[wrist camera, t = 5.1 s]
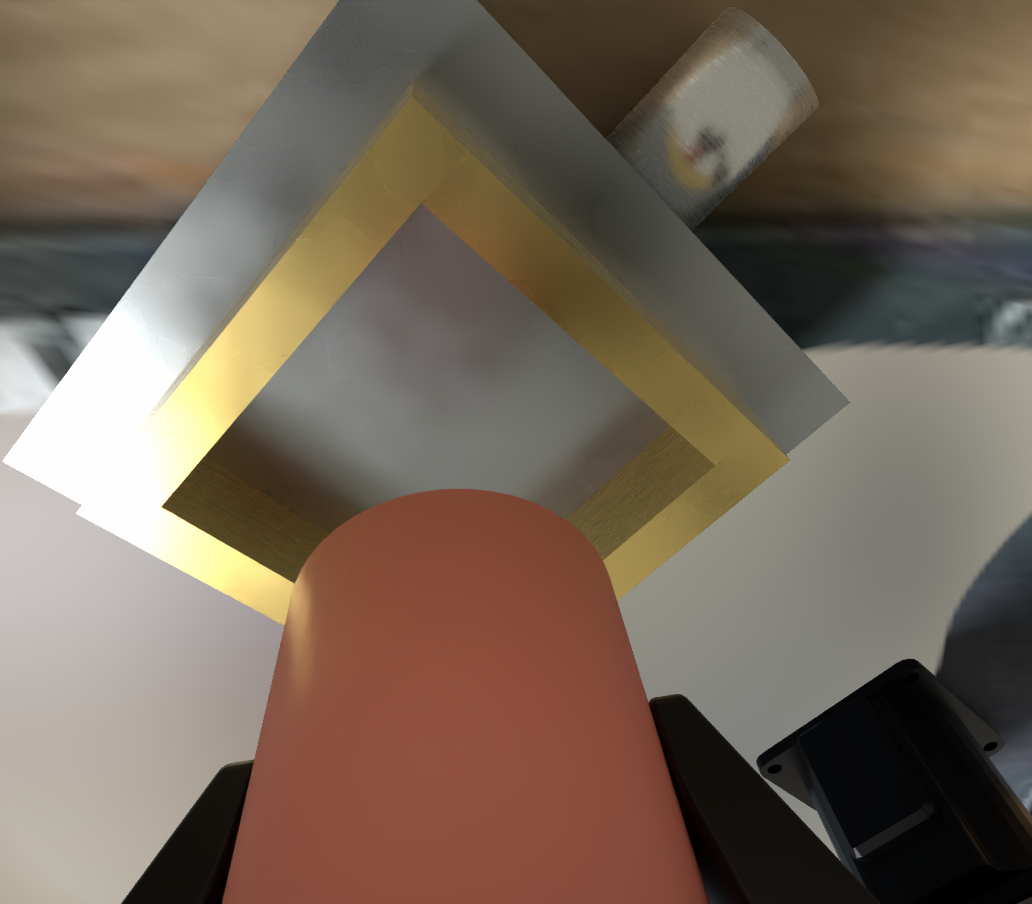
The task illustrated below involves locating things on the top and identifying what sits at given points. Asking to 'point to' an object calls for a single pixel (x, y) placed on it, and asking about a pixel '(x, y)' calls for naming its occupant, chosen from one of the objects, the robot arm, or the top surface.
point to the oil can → (459, 723)
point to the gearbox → (444, 310)
